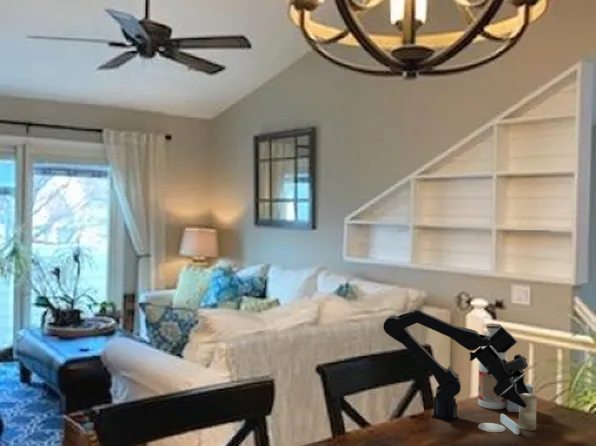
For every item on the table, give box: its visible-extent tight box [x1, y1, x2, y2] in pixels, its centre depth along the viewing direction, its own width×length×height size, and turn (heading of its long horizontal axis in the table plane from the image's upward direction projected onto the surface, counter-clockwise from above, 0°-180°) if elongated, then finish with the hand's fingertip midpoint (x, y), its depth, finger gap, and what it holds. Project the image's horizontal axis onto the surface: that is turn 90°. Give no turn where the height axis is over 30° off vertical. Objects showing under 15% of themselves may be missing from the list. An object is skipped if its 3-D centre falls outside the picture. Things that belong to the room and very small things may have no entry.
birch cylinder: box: [518, 393, 538, 431], centre depth 205 cm, size 5×5×10 cm
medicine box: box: [505, 383, 534, 413], centre depth 223 cm, size 8×4×9 cm, turn 84°
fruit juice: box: [477, 322, 508, 410], centre depth 228 cm, size 9×9×28 cm
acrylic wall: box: [499, 413, 520, 435], centre depth 205 cm, size 12×1×2 cm, turn 5°
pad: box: [477, 422, 506, 433], centre depth 205 cm, size 8×8×1 cm
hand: (528, 403), depth 205 cm, fingers open, 9 cm apart
